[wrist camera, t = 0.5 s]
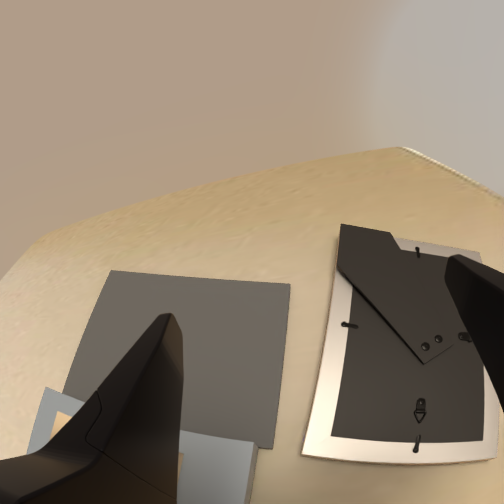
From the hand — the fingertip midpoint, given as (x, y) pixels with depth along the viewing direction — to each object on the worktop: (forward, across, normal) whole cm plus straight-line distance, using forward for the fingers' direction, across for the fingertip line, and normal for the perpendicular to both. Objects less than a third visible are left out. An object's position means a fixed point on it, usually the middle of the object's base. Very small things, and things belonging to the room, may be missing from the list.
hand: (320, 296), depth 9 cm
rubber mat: (+10, +10, +12) cm, 19 cm away
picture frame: (+8, -9, +15) cm, 20 cm away
